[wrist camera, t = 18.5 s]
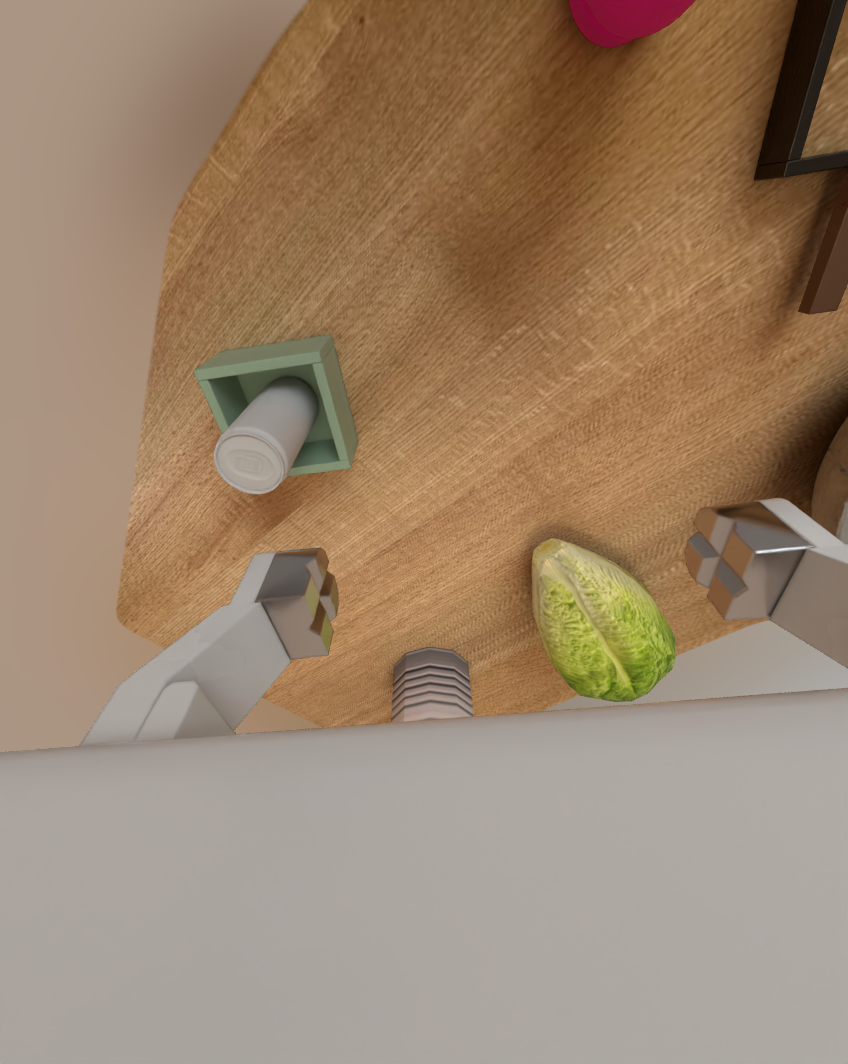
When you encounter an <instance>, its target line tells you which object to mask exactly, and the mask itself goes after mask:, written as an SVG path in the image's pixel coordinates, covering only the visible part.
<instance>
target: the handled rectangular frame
mask: <svg viewBox="0 0 848 1064" xmlns="http://www.w3.org/2000/svg"><path fill="white" fill-rule="evenodd" d="M846 2H847V0H799V1H798V5H797V9H796V13H795V17H794V21H793V25H792V29H791V33H790V37H789V41H788V45H787V49H786V53H785V57H784V61H783V65H782V69H781V73H780V77H779V81H778V85H777V89H776V93H775V97H774V101H773V105H772V109H771V113H770V117H769V121H768V125H767V129H766V133H765V137H764V141H763V145H762V149H761V153H760V157H759V161H758V165H759V166H757V169H756V173H755V177H754V180H755V181H756V180H766V179H775V178H784V177H790V176H796V175H802V174H807V173H813V172H819V171H825V170H831V169H836V168H842V167H848V150H845V151H839V152H833V153H827V154H822V155H816V156H810V157H805V158H801V155H802V151H803V148H804V144H805V141H806V138H807V134H808V131H809V127H810V124H811V121H812V117H813V114H814V110H815V107H816V104H817V100H818V97H819V93H820V90H821V87H822V83H823V80H824V76H825V73H826V70H827V66H828V63H829V59H830V56H831V53H832V49H833V46H834V42H835V39H836V36H837V32H838V29H839V25H840V22H841V19H842V15H843V12H844V9H845V5H846ZM847 284H848V169H847V172H846V175H845V178H844V181H843V184H842V187H841V190H840V192H839V195H838V198H837V201H836V204H835V207H834V210H833V212H832V215H831V218H830V221H829V224H828V227H827V230H826V233H825V235H824V238H823V241H822V244H821V247H820V250H819V253H818V256H817V258H816V261H815V264H814V267H813V270H812V273H811V276H810V278H809V281H808V284H807V287H806V290H805V293H804V296H803V299H802V301H801V304H800V307H799V310H798V312H802V313H806V314H815V313H822V312H829V311H836V310H837V309H838V307H839V304H840V302H841V299H842V296H843V294H844V291H845V289H846V286H847Z"/></svg>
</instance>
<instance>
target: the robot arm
mask: <svg viewBox="0 0 848 1064" xmlns="http://www.w3.org/2000/svg"><path fill="white" fill-rule="evenodd" d="M693 524H694V526H695V527H696V529H697V530H698V531H697V532H696V533H695V534H694V535H693V536H692V537H691V538H690V539H689V540H688V542H687V546H686V549H685V560H686V566H687V568H688V571H689V573H690V574H691V576H692V577H693V579H694V580H695V581H696V582H697V583H699V584H701V585H703V586H705V587H707V588H709V590H708V595H707V597H708V599H709V600H710V601H711V603H712V604H713V605H714V607H715V608H716V609H717V611H718V612H719V613H720V615H721V616H722V617H723V618H724V620H725V621H726V620H742V619H758V618H770V619H769V620H770V621H772V622H774V623H775V624H777V625H778V626H780V627H782V628H784V629H785V630H787V631H788V632H790V633H791V634H793V635H795V636H796V637H798V638H799V639H801V640H803V641H804V642H806V643H807V644H809V645H811V646H813V647H814V648H816V649H817V650H819V651H820V652H822V653H824V654H825V655H827V656H828V657H830V658H832V659H833V660H835V661H837V662H838V663H840V664H841V665H843V666H845V667H846V668H848V544H847V545H845V544H844V543H843V542H841V541H840V540H839V539H837V538H836V537H835V536H834V535H832V534H831V533H830V532H828V531H827V530H826V529H824V528H823V527H822V526H821V525H819V524H818V523H817V522H815V521H814V520H813V519H811V518H810V517H809V516H808V515H806V514H805V513H804V512H802V511H801V510H800V509H798V508H797V507H796V506H795V505H793V504H792V503H791V502H789V501H788V500H785V499H782V498H772V499H765V500H757V501H752V502H747V503H738V504H729V505H720V506H711V507H702V508H701V509H700V510H699V511H698V512H697V514H696V516H695V519H694V522H693ZM328 564H329V560H328V557H327V555H326V552H325V550H324V549H322V548H312V549H300V550H289V551H279V552H268V553H258V554H256V555H255V556H253V557H252V559H251V561H250V563H249V565H248V567H247V569H246V571H245V573H244V575H243V577H242V580H241V582H240V584H239V586H238V588H237V590H236V592H235V594H234V596H233V598H232V600H231V602H230V604H229V605H226V606H221V607H220V608H219V609H217V610H216V611H215V612H213V613H212V614H211V615H209V616H208V617H207V618H206V619H204V620H203V621H202V622H200V623H199V624H198V625H196V626H195V627H194V628H192V629H191V630H190V631H188V632H187V633H186V634H184V635H183V636H182V637H181V638H179V639H178V640H177V641H175V642H174V643H173V644H171V645H170V646H169V647H167V648H166V649H165V650H163V651H162V652H161V653H160V654H158V655H157V656H156V657H154V658H153V659H152V660H150V661H149V662H148V663H146V664H145V665H144V666H142V667H141V668H140V669H139V670H137V671H136V672H135V673H133V674H132V675H131V676H129V677H128V678H127V679H125V680H124V681H123V682H121V683H120V684H119V685H118V686H117V688H116V689H115V691H114V692H113V694H112V696H111V697H110V699H109V700H108V702H107V703H106V705H105V706H104V708H103V710H102V711H101V713H100V714H99V716H98V717H97V719H96V720H95V722H94V723H93V725H92V726H91V728H90V730H89V731H88V733H87V734H86V736H85V737H84V739H83V741H82V742H81V743H80V745H79V746H75V747H61V748H49V749H35V750H23V751H9V752H0V1064H848V688H841V689H828V690H814V691H801V692H789V693H776V694H762V695H749V696H736V697H723V698H710V699H698V700H685V701H671V702H659V703H645V704H633V705H619V706H605V707H591V708H578V709H565V710H553V711H552V710H551V711H538V712H525V713H511V714H498V715H485V716H471V717H458V718H445V719H432V720H418V721H405V722H392V723H379V724H365V725H352V726H339V727H326V728H313V729H300V730H286V731H273V732H260V733H246V734H236V733H235V732H234V730H235V729H236V728H237V727H238V725H239V724H240V723H241V722H242V721H243V719H244V718H245V717H246V716H247V715H248V713H249V712H250V711H251V710H252V709H253V707H254V706H255V705H256V704H257V702H258V701H259V700H260V698H262V696H263V695H264V694H265V693H266V692H267V690H268V689H269V688H270V687H271V686H272V684H273V683H274V682H275V681H276V679H277V678H278V677H279V676H280V675H281V673H282V672H283V671H284V670H285V669H286V667H287V666H288V665H289V664H290V663H291V661H290V660H293V659H302V658H311V657H319V656H328V655H329V650H330V645H331V641H332V636H333V628H332V626H331V623H330V622H331V621H332V620H333V619H334V618H335V617H336V616H337V612H338V606H339V593H338V588H337V583H336V580H335V577H334V576H333V575H332V574H331V573H329V572H328V571H327V568H328Z"/></svg>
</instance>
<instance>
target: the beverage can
mask: <svg viewBox="0 0 848 1064" xmlns="http://www.w3.org/2000/svg"><path fill="white" fill-rule="evenodd" d="M318 411H319V409H318V401H317V398H316V396H315V394H314V392H313V390H312V389H311V388H310V387H309V386H308V385H307V384H306V383H304V382H303V381H301V380H299V379H296V378H293V377H283V378H278V379H276V380H273V381H272V382H270V383H269V384H268V385H267V386H266V387H265V388H264V389H263V390H262V391H261V392H260V394H259V395H258V396H257V397H256V398H255V399H254V400H253V401H252V402H251V403H250V405H249V406H248V407H247V408H246V409H245V410H244V411H243V412H242V413H241V414H240V415H239V417H238V418H237V419H236V420H235V421H234V422H233V423H232V424H231V425H230V426H229V427H228V429H227V430H226V431H225V432H224V433H223V434H222V435H221V436H220V438H219V440H218V442H217V444H216V447H215V449H214V463H215V466H216V469H217V471H218V473H219V474H220V475H221V477H222V478H223V479H224V480H225V481H226V482H227V483H228V484H230V485H231V486H232V487H234V488H236V489H238V490H240V491H243V492H246V493H250V494H263V493H267V492H270V491H272V490H274V489H275V488H276V487H277V486H279V484H281V483H282V482H283V481H284V479H285V477H286V476H287V474H288V472H289V470H290V468H291V467H292V465H293V463H294V461H295V459H296V457H297V455H298V453H299V451H300V449H301V447H302V445H303V443H304V441H305V439H306V437H307V435H308V434H309V432H310V430H311V428H312V426H313V424H314V422H315V420H316V418H317V415H318Z"/></svg>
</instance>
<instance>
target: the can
mask: <svg viewBox="0 0 848 1064" xmlns="http://www.w3.org/2000/svg"><path fill="white" fill-rule="evenodd" d="M471 716H473V707H472V698H471V689H470V679H469V670H468V662H467V661H466V660H464V659H463V658H462V657H460V656H459V655H458V654H457V653H455V652H454V651H452V650H446V649H439V648H432V647H427V648H423V649H420V650H416V651H412V652H408V653H406V654H405V655H404V656H403V657H402V658H401V659H400V660H399V661H398V662H397V663H396V665H395V666H394V678H393V695H392V713H391V723H392V722H405V721H418V720H432V719H445V718H458V717H471Z"/></svg>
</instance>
